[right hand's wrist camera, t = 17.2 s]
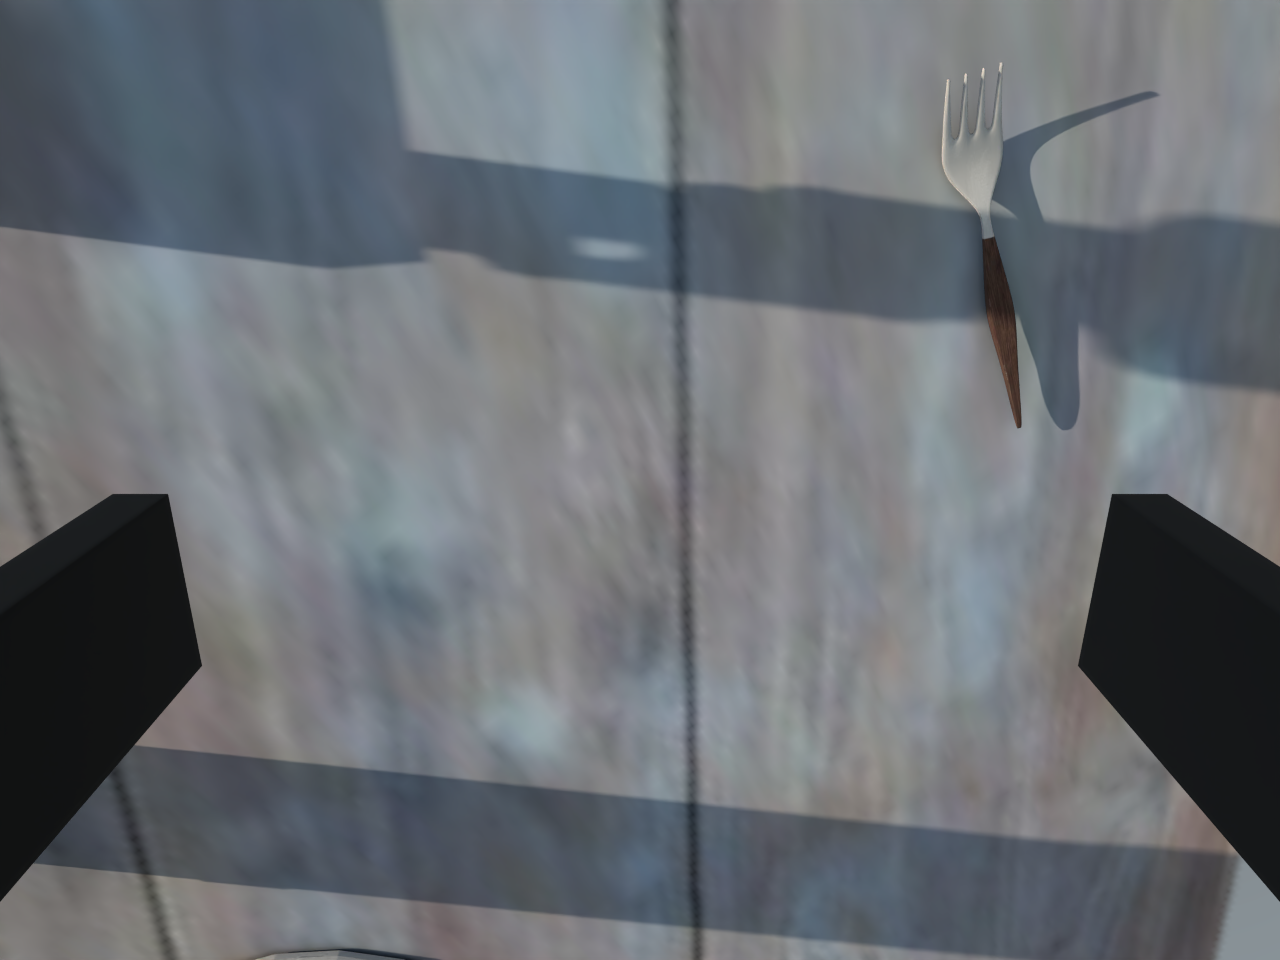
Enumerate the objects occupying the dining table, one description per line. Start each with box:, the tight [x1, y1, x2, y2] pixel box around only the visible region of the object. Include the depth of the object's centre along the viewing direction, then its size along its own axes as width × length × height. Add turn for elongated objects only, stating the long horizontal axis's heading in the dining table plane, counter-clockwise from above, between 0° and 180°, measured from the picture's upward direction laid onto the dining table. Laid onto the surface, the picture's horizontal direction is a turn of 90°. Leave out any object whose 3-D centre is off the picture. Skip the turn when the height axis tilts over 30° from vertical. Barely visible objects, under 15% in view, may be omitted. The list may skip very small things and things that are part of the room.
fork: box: [942, 62, 1021, 428], centre depth 39 cm, size 3×16×2 cm, turn 17°
